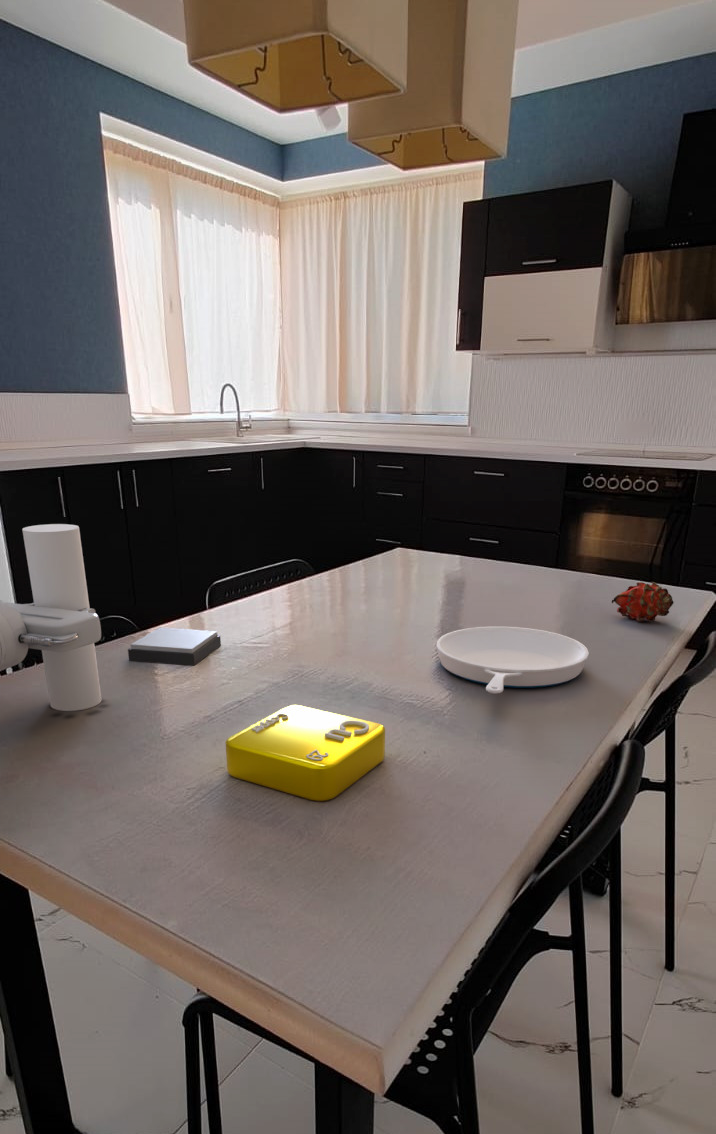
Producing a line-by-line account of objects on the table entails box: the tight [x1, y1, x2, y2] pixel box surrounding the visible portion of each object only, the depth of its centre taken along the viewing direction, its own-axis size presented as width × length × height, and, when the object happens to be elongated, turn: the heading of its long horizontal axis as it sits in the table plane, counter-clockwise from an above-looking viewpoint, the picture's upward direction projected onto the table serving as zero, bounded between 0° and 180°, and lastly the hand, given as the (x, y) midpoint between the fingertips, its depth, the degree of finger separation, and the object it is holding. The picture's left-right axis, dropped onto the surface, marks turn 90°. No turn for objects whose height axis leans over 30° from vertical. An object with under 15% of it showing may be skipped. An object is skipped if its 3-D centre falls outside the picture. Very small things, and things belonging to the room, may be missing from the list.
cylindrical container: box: [21, 523, 102, 712], centre depth 108 cm, size 7×7×25 cm
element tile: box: [224, 704, 386, 802], centre depth 93 cm, size 15×15×5 cm
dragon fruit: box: [611, 581, 675, 623], centre depth 158 cm, size 8×8×12 cm
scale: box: [127, 627, 222, 666], centre depth 135 cm, size 12×12×3 cm
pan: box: [435, 625, 590, 694], centre depth 123 cm, size 25×38×5 cm, turn 164°
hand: (66, 610), depth 109 cm, fingers closed on cylindrical container, 7 cm apart
